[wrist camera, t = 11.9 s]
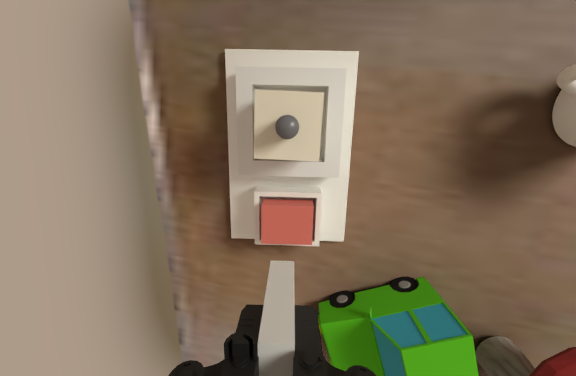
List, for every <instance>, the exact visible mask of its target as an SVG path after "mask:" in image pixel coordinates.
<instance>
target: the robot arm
mask: <svg viewBox="0 0 576 376" xmlns="http://www.w3.org/2000/svg"><path fill="white" fill-rule="evenodd" d="M224 355H225V359H224V360H223V361H221V362H219V363H217V364H215V365H212V366H208V367H203V365H202V364H201V363H200V362H198V361H191V360H190V361H186V362H183V363H181V364H180V365H178V366H177V367H176V368H175V369H173V370H172V372H171V373H170V374H169V376H376V375H375V374H374V372H373V371H371V370H370V369H368V368H367V367H364V366H361V365H354V366H351V367H349V368H348V369H347V370H346V371H344V370H341V369H338V368H336V367H334V366H332V365H331V364H329V363H328V362H327V361H326V360H325V358H324V356H323V353H322V346H321V338H320V330H319V322H318V314H317V312H316V310H315V309H314V307H313V306H300V305H295V299H294V261H271V263H270V269H269V275H268V281H267V288H266V294H265V300H264V305H246V306H245V308H244V309H243V310H242V311H241V315H240V318H239V322H238V327H237V329H236V333H234V334H232V335H230V336H229V337H228V338H227V339H226V341H225V343H224Z"/></svg>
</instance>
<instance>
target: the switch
mask: <svg viewBox="0 0 576 376" xmlns="http://www.w3.org/2000/svg"><path fill="white" fill-rule="evenodd" d="M313 212H314V205H313V201H312V200H277V199H263V202H262V205H261V244H291V245H312V233H313Z"/></svg>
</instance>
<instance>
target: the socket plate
mask: <svg viewBox="0 0 576 376" xmlns="http://www.w3.org/2000/svg"><path fill="white" fill-rule="evenodd" d="M358 56H359V51H311V50H255V49H225V65H226V95H227V124H228V153H229V182H230V212H231V238H243V239H255V244H259V245H291V244H261V205H262V202H263V199H277V200H312V201H313V205H314V212H313V233H312V245H293V246H319V241H344V231H345V219H346V206H347V194H348V181H349V169H350V156H351V144H352V131H353V118H354V106H355V93H356V81H357V68H358ZM255 89H259V90H281V91H303V92H324V102H323V115H322V129H321V142H320V156H319V162H317V161H297V160H276V159H255V158H254V108H255Z"/></svg>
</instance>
